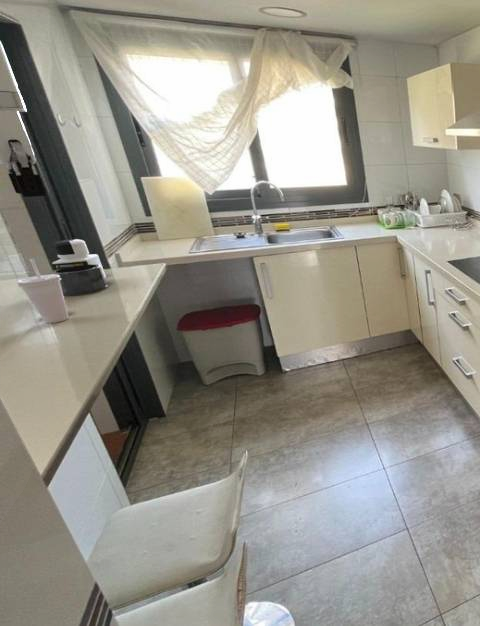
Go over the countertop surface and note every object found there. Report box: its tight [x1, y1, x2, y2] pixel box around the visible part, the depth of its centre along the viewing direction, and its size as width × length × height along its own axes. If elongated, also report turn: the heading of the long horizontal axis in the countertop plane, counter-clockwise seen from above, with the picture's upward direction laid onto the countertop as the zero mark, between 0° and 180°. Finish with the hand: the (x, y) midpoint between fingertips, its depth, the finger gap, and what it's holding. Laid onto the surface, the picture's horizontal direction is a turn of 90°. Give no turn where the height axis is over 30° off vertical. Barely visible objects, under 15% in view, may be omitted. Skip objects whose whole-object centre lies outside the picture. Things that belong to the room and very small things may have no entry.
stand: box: [51, 264, 109, 297], centre depth 120 cm, size 9×9×6 cm
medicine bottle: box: [51, 238, 107, 280], centre depth 125 cm, size 7×7×12 cm
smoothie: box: [16, 258, 70, 324], centre depth 99 cm, size 6×6×14 cm
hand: (31, 194), depth 93 cm, fingers open, 9 cm apart
